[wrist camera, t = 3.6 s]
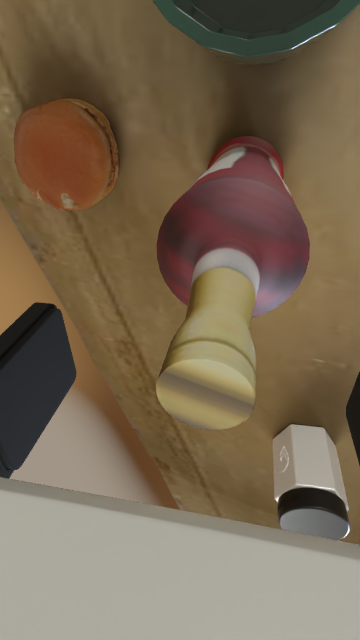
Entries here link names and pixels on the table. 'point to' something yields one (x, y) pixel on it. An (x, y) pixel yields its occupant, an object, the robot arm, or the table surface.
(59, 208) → the burger
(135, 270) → the table surface
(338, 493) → the jar
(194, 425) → the liquor
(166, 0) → the ice bucket
